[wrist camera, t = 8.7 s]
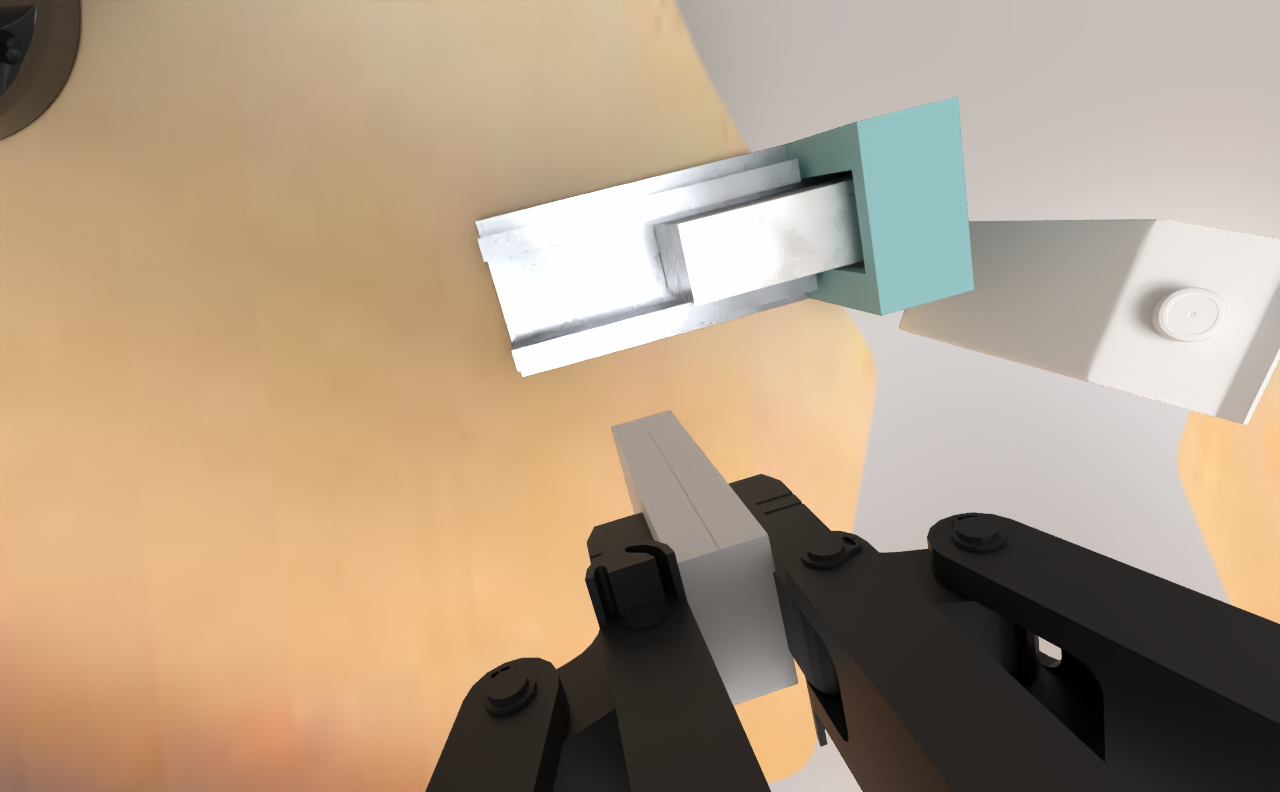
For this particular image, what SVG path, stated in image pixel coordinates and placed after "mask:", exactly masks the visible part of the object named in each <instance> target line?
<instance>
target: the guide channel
mask: <svg viewBox="0 0 1280 792" xmlns="http://www.w3.org/2000/svg"><path fill="white" fill-rule="evenodd" d="M847 173H852V170H847V171H842V172H836V173H830V174H825V175H819V176H813V177H808V178H802V179H801V176H800V170H799V164H798V158H797V159H793V160H789V161H788V157H787V151H786V145H781V146H777V147H773V148H769V149H765V150H761V151H757V152H753V153H749V154H745V155H741V156H737V157H733V158H729V159H725V160H721V161H717V162H713V163H709V164H705V165H700V166H696V167H692V168H688V169H684V170H680V171H676V172H672V173H668V174H664V175H660V176H656V177H652V178H648V179H644V180H640V181H636V182H632V183H628V184H624V185H620V186H616V187H612V188H608V189H604V190H600V191H596V192H592V193H588V194H584V195H580V196H576V197H572V198H568V199H564V200H560V201H556V202H552V203H548V204H543V205H539V206H535V207H531V208H527V209H523V210H519V211H515V212H511V213H507V214H503V215H499V216H495V217H491V218H487V219H483V220H479V221H475V222H476V226H477V229H478V232H479V235H480V238H478V239H477V241H478V244H479V247H480V250H481V254H482V257H483V260H484V262H488V265H489V268H490V271H491V275H492V278H493V281H494V284H495V288H496V291H497V294H498V298H499V301H500V304H501V307H502V311H503V314H504V317H505V320H506V324H507V327H508V330H509V334H510V337H511V340H512V349H511V351H512V355H513V358H514V361H515V364H516V368H517V371H518V372H519V371H521V373H522V376H523V377H525V376H528V375H532V374H536V373H539V372H543V371H546V370H550V369H554V368H557V367H561V366H565V365H568V364H572V363H576V362H579V361H583V360H586V359H590V358H594V357H597V356H601V355H605V354H608V353H612V352H615V351H619V350H623V349H626V348H630V347H634V346H637V345H641V344H645V343H648V342H652V341H655V340H659V339H663V338H666V337H670V336H674V335H677V334H681V333H685V332H688V331H692V330H695V329H699V328H703V327H706V326H710V325H714V324H717V323H721V322H725V321H728V320H732V319H735V318H739V317H743V316H746V315H750V314H754V313H757V312H761V311H764V310H768V309H772V308H775V307H779V306H783V305H786V304H790V303H794V302H797V301H801V300H804V299H808V298H810V294H809V292H811V291H814V290H818V285H817V279H816V274H812V275H808V276H804V277H801V278H797V279H793V280H790V281H786V282H782V283H779V284H775V285H771V286H768V287H764V288H760V289H757V290H753V291H749V292H745V293H742V294H738V295H734V296H731V297H727V298H723V299H720V300H716V301H712V302H709V303H705V304H701V305H698V306H694V305H692V304H690V303H688V302H686V301H684V300H681V299H679V298H677V297H675V296H673V295H671V294H669V290H668V285H667V281H666V277H665V272H664V268H663V263H662V259H661V254H660V250H659V245H658V241H657V237H656V232H655V228H654V225H656V224H659V223H663V222H667V221H671V220H675V219H679V218H683V217H687V216H691V215H695V214H698V213H702V212H706V211H710V210H714V209H718V208H722V207H726V206H730V205H734V204H738V203H741V202H745V201H749V200H753V199H757V198H761V197H765V196H769V195H773V194H777V193H780V192H784V191H788V190H792V189H796V188H800V187H804V186H808V185H812V184H816V183H819V182H823V181H827V180H831V179H835V178H836V176H839V175H843V174H847Z"/></svg>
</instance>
